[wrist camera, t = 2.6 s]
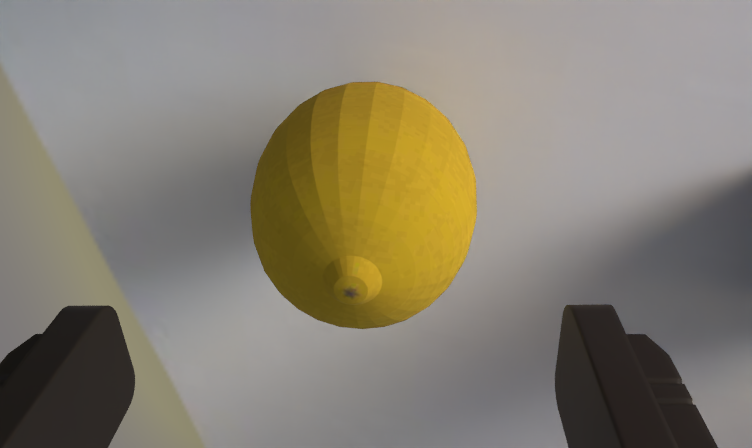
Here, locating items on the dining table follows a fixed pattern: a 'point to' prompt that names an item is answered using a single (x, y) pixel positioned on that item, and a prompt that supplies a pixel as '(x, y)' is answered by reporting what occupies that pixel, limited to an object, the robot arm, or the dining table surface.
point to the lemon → (363, 205)
